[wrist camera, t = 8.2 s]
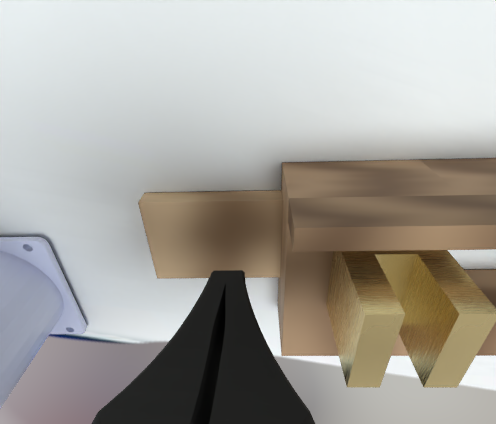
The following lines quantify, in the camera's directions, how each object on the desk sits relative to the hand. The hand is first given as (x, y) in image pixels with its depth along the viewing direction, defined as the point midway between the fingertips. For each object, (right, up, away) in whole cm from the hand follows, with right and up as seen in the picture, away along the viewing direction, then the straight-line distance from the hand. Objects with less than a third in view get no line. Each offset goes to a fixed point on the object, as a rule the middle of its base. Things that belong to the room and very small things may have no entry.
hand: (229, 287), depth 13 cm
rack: (+6, +1, +4) cm, 7 cm away
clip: (+6, +1, 0) cm, 7 cm away
